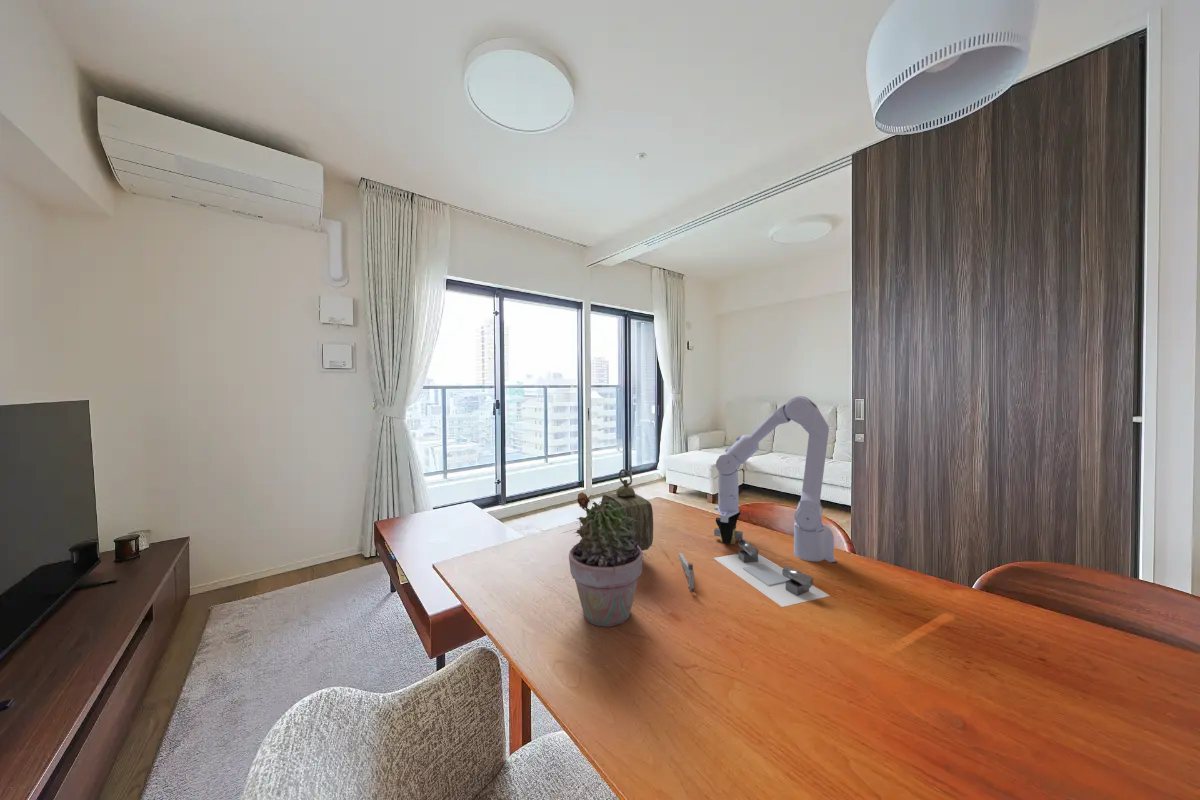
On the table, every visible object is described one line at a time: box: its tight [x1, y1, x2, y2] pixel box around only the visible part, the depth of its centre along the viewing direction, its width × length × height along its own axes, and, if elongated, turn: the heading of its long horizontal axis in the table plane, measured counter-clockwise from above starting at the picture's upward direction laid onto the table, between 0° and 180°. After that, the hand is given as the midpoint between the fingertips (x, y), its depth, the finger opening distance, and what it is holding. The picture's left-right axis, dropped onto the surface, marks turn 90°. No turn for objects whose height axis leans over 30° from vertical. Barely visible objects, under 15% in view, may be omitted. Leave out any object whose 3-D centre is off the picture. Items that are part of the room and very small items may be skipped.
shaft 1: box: [737, 538, 759, 563], centre depth 106 cm, size 6×4×4 cm, turn 8°
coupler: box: [713, 525, 744, 545], centre depth 119 cm, size 4×8×5 cm, turn 63°
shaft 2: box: [782, 565, 814, 596], centre depth 90 cm, size 6×4×4 cm, turn 28°
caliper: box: [677, 552, 695, 593], centre depth 102 cm, size 20×1×6 cm, turn 177°
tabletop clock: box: [601, 468, 654, 552], centre depth 109 cm, size 14×9×25 cm, turn 25°
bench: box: [713, 553, 831, 608], centre depth 97 cm, size 13×25×1 cm, turn 18°
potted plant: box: [559, 491, 657, 628], centre depth 83 cm, size 18×20×25 cm
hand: (728, 538), depth 119 cm, fingers open, 6 cm apart
